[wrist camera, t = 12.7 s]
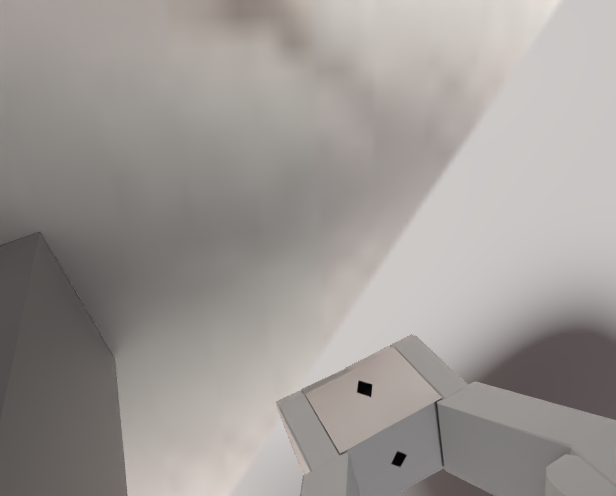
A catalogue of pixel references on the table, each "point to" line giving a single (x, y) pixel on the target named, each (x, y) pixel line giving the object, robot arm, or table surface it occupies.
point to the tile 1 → (54, 384)
